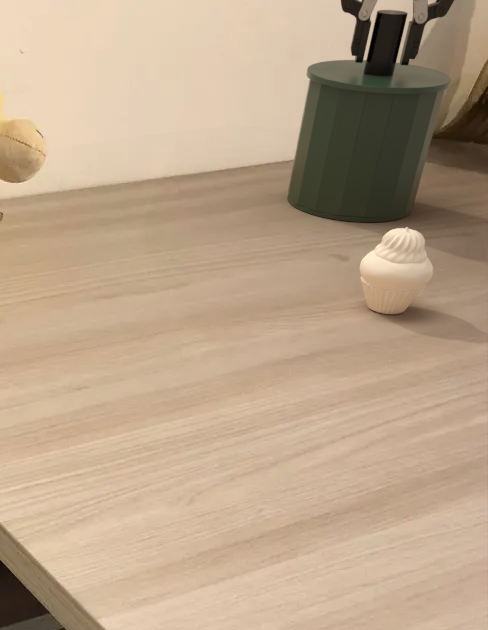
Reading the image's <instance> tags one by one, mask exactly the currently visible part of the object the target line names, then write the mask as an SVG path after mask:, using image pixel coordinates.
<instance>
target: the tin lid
mask: <svg viewBox="0 0 488 630" xmlns="http://www.w3.org/2000/svg"><path fill="white" fill-rule="evenodd" d="M407 18H408V12H406V11H403V10H396V9H380V10H377V11H376V15H375V19H374V23H373V28H372V31H371V32H372V33H371V37H370V42H369V46H368V50H367V55H366V59H363V62H362V63H356V62H355V59H338V60H337V59H335V60H327V61H326V60H325V61H320V62H316V63H313V64H311V65H309V66H307V69H306V74H305V75H306V77H307V78H308V79H309V80H310V79H311V80H312V81H315V82H317V83H320V84H323V85H327V86H330V87H335V88H340V89H345V90H351V91H359V92H367V93H379V94H426V93H434V92H439V91H443V90H444V91H445V90H447V89H449V88H450V86H451V82H452V79H451V77H450V75H448V74H446V73H445V72H442V71H440V70H438V69H433V68H430V67H425V66H420V65H416V64H410V63H409V64H408V65H401V64H400V62H397V61H398V57H399V56H398V55H399V52H400V48H401V43H402V39H403V35H404V30H405V26H406V23H407Z"/></svg>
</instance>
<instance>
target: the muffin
mask: <svg viewBox="0 0 488 630" xmlns="http://www.w3.org/2000/svg"><path fill="white" fill-rule="evenodd" d="M425 244H426V240H425V237H424V236H423V234H422V233H421V232H419V231H418V230H415V229H411V228H409V227H408V226H406V227H405V228H404V227H397V228H393V229H390V230H389V231H388V232H386V233H384V235H382V239H381V242H380V243H378V244H377V245H376V246H375V248H374V249H372V250H371V251H370V252H368V253H367V254H366V255H365V256H364V257H363V258H362V260H361V261H360V264H359V273H360V275H361V276H360V277H359V278H360V284H361V287H362V292H363V295H364V298H365V302H366V306H367V308H368V309H369V310H370V311H373V312H376V313H379V314H383V315H398V314H402V313H404V312H405V311H406V310H407V308H409V306H410V305H412V303H413V302H414V301H415V300H416V298H418V296H419V295H420V294H421V293H422V292H423V290H424V289H426V285H427V284H428V282H429V281H430V280H431V279H432V277H433V274H434V266H433V264H432V261H431V260H430V258H428V253H427V251H426V249H425V246H426V245H425Z"/></svg>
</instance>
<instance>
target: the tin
mask: <svg viewBox="0 0 488 630" xmlns="http://www.w3.org/2000/svg"><path fill="white" fill-rule="evenodd" d="M444 93H445V90H443V91H439V92H434V93H426V94H379V93H367V92H359V91H351V90H345V89H340V88H335V87H330V86H327V85H323V84H320V83H317V82H315V81H312V80H311V79H309V81H308V86H307V92H306V96H305V101H304V106H303V112H302V116H301V122H300V128H299V133H298V138H297V143H296V149H295V154H294V159H293V164H292V169H291V173H290V180H289V184H288V192H287V198H286V199H287V202H288V204H290V205H291V206H292V207H294V208H295V209H297V210H299V211H301V212H303V213H306V214H310V215H313V216H316V217H320V218H324V219H330V220H335V221H343V222H352V223H383V222H384V223H385V222H392V221H397V220H401V219H403V218H405V217H407V216H409V215H410V213H411V212H412V209H413V208H414V206H415V203H416V202H415V201H416V198H417V194H418V190H419V186H420V183H421V179H422V175H423V171H424V168H425V165H426V160H427V157H428V152H429V149H430V146H431V142H432V138H433V135H434V130H435V127H436V124H437V121H438V120H437V119H438V115H439V112H440V108H441V105H442V101H443V98H444Z"/></svg>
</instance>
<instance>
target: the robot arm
mask: <svg viewBox="0 0 488 630" xmlns="http://www.w3.org/2000/svg"><path fill="white" fill-rule="evenodd" d="M454 2H455V0H435V2H432V3H429V0H412V17H411V20H409V21H408V26H407V30H406V34H405V38H404V41H403V46H402V49H401V54H400V59H399V63H400V64H401V65H408V64H410V60H415V59H416V58H417V56H418V55H419V50H420V46H421V42H422V39H423V34H424V31H425V27H426V25H427V24H428V22H430V21H432V20H434V19H438V18H443V17H445V16H446V15H447V14H448V13H449V11H450V9H451V7H452V6H453V4H454ZM377 3H378V0H340V6H341V10H342V11H343V12H344V13H346V14H349V15H351V16H353V17H354V18H355V23H354V24H355V25H354V30H353V35H352V40H351V44H350V54H351V56H352V57H354V60H355V62H356V63H362V62H363V60H365V59H364V58H365V55H366V49H367V44H368V40H369V37H370V30H371V27H372V21H371V17H372V13H373V11H374V9H375V7H376V5H377Z"/></svg>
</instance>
